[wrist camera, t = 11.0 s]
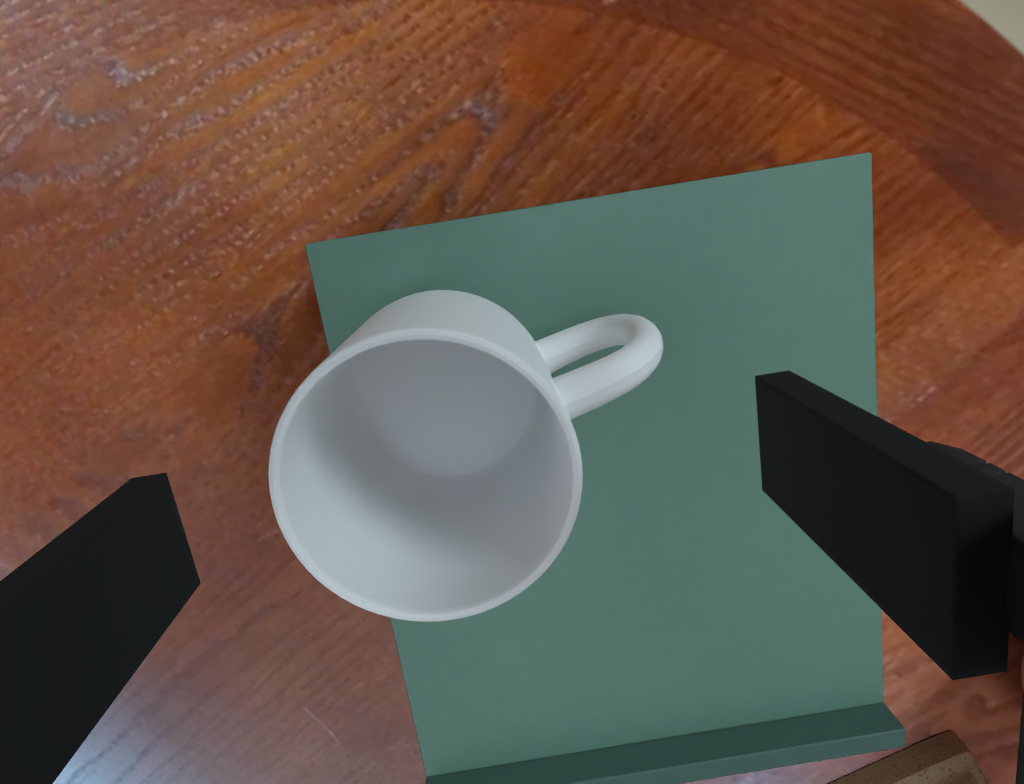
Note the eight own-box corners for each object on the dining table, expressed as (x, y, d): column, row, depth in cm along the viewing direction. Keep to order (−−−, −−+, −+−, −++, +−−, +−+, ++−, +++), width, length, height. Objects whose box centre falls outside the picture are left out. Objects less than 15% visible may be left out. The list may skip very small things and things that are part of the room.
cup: (304, 342, 27) (206, 414, 17) (581, 208, 26) (640, 206, 17) (402, 515, 29) (362, 668, 20) (661, 396, 29) (757, 493, 19)
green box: (348, 236, 35) (291, 246, 25) (775, 167, 35) (899, 147, 25) (440, 672, 42) (426, 825, 31) (800, 613, 42) (906, 747, 31)
